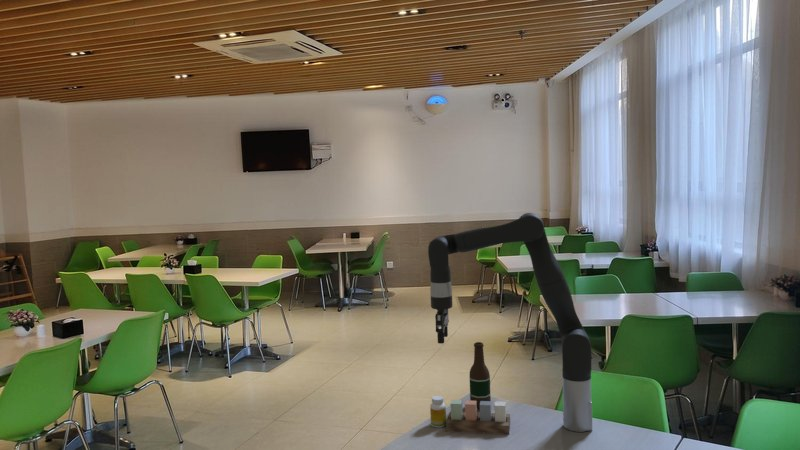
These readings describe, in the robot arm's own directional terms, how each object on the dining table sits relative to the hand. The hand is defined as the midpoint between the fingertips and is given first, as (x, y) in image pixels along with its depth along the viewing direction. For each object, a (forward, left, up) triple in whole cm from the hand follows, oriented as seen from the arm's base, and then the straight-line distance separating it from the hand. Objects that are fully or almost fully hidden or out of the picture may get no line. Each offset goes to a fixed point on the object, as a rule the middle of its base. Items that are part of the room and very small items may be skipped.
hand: (442, 339), depth 214 cm
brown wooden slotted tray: (-12, +4, -29) cm, 32 cm away
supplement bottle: (+2, +4, -30) cm, 30 cm away
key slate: (-14, +4, -27) cm, 31 cm away
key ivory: (-19, +4, -27) cm, 33 cm away
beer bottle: (-11, -15, -30) cm, 35 cm away
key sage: (-5, +4, -27) cm, 27 cm away
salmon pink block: (-9, +4, -27) cm, 29 cm away
